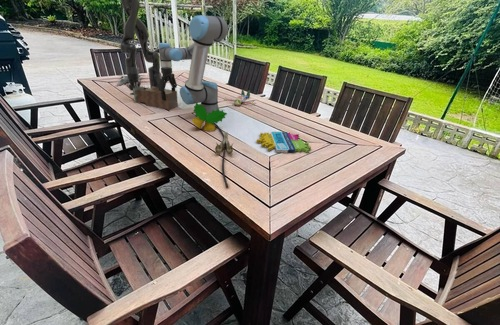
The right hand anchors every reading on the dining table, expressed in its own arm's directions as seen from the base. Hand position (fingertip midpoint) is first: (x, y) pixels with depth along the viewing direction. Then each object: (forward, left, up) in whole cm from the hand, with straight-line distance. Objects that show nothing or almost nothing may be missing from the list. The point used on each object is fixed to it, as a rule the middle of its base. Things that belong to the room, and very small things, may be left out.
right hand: (169, 98), depth 193 cm
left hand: (+19, +25, -3) cm, 31 cm away
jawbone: (-78, -27, -7) cm, 83 cm away
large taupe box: (+4, +6, -7) cm, 10 cm away
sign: (-72, -62, -7) cm, 96 cm away
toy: (+11, -58, -7) cm, 60 cm away
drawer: (+13, +17, -6) cm, 22 cm away
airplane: (+84, +36, -7) cm, 91 cm away
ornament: (-46, -24, -7) cm, 52 cm away
